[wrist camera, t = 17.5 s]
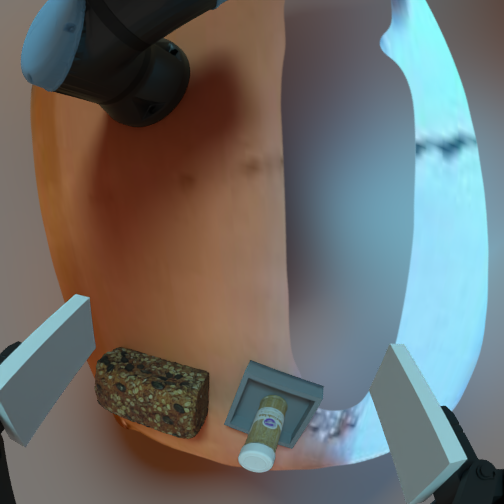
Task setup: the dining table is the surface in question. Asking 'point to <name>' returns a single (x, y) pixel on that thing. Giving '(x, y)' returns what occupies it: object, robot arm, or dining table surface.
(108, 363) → the bread
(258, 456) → the sprinkles bottle
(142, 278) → the dining table surface
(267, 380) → the tray
